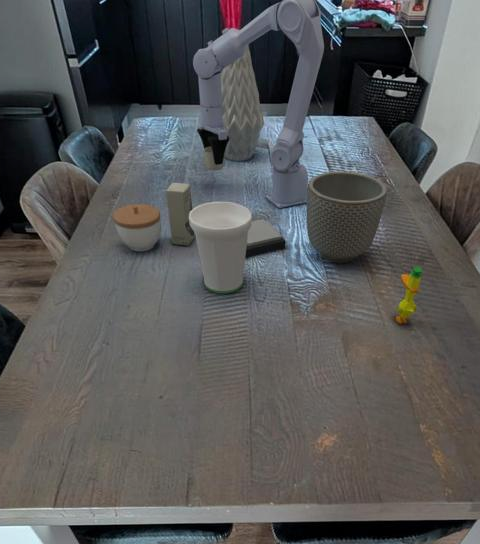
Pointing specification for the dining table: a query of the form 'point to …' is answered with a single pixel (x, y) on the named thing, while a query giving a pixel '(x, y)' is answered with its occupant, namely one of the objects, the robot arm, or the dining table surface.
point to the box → (180, 213)
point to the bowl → (211, 160)
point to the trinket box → (138, 226)
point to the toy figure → (409, 294)
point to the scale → (263, 239)
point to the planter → (343, 213)
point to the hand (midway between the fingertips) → (214, 160)
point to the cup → (221, 243)
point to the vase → (241, 108)
